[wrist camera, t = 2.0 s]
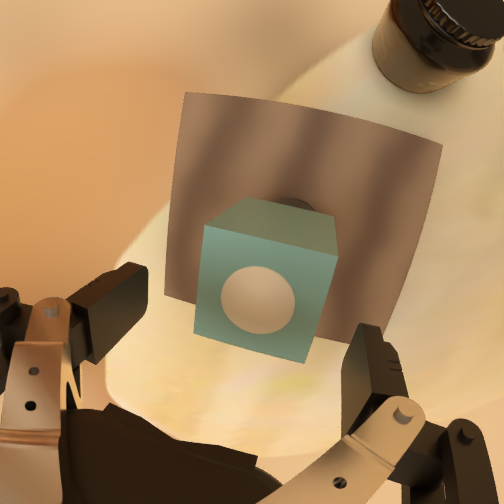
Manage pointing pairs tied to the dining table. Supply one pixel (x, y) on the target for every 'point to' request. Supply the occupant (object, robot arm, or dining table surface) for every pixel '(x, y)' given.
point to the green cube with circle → (265, 277)
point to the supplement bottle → (436, 40)
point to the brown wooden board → (304, 194)
